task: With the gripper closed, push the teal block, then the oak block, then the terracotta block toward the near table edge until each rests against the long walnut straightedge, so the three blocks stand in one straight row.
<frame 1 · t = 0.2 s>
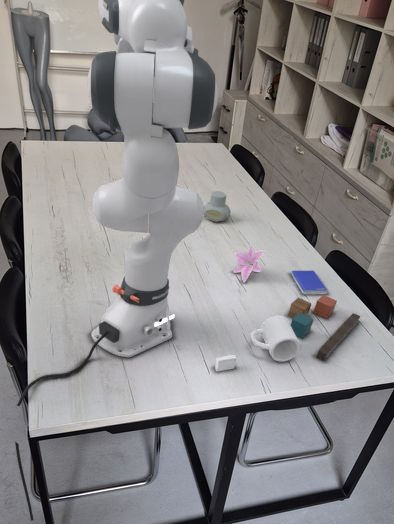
hand: (154, 86, 131), 52 cm above the table, tool tilted 20°, fingers open, 8 cm apart
mug: (269, 350, 132), on the table
lily: (246, 275, 162), on the table
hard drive: (308, 284, 161), on the table
air freshener: (215, 218, 193), on the table
straightedge: (338, 338, 139), on the table
teal block: (299, 331, 140), on the table
terracotta block: (323, 312, 148), on the table
oak block: (297, 315, 146), on the table
eraser: (224, 369, 124), on the table
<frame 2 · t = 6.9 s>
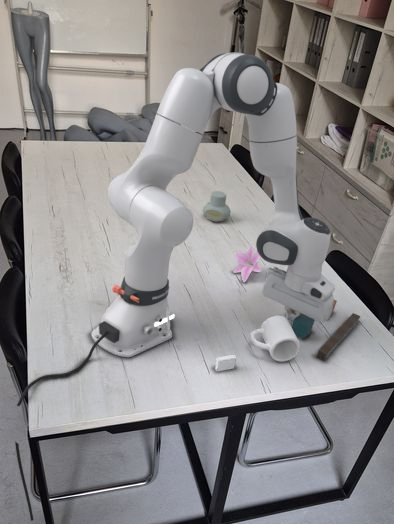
hand: (290, 320, 140), 2 cm above the table, tool pointing down, fingers closed
teal block: (300, 332, 139), on the table, touching gripper
everything else where it was.
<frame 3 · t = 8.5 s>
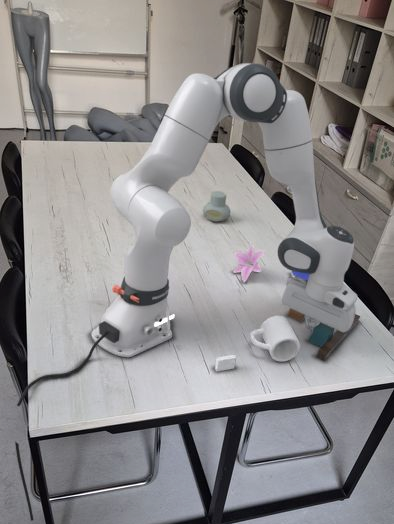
hand: (310, 329, 137), 2 cm above the table, tool pointing down, fingers closed
teal block: (319, 341, 137), on the table, touching gripper, straightedge
everything else where it was.
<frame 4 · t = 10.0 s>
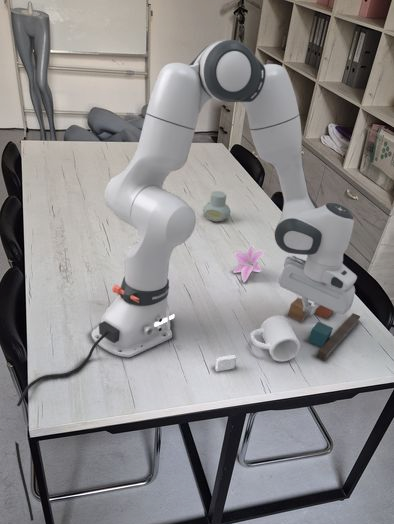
hand: (308, 312, 134), 8 cm above the table, tool pointing down, fingers closed
teal block: (318, 341, 137), on the table
everything else where it was.
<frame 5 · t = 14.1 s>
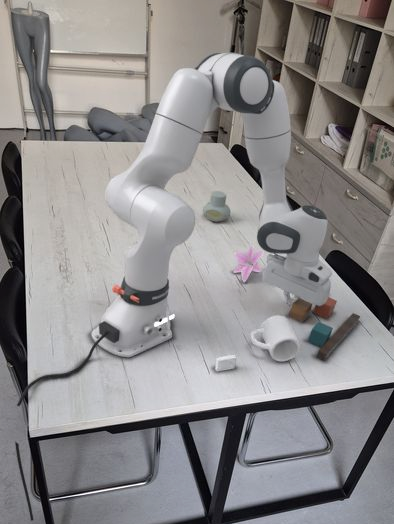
hand: (289, 304, 146), 2 cm above the table, tool pointing down, fingers closed
oak block: (299, 316, 146), on the table, touching gripper
everything else where it was.
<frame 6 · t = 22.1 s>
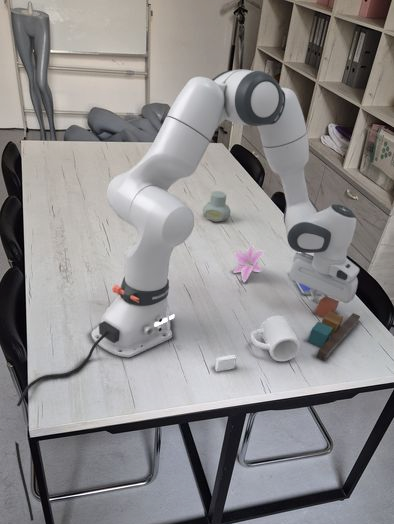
hand: (315, 302, 148), 2 cm above the table, tool pointing down, fingers closed
terracotta block: (325, 313, 148), on the table, touching gripper
oak block: (329, 330, 142), on the table
everything else where it was.
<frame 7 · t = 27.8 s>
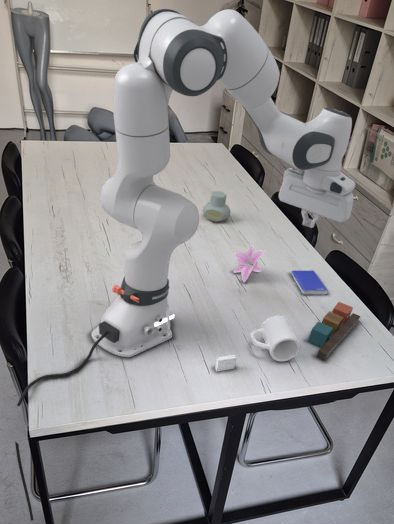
hand: (308, 225, 136), 25 cm above the table, tool pointing down, fingers closed
terracotta block: (339, 320, 146), on the table
everything else where it was.
at the end: teal block 0.4 cm from the target spot, on the table; oak block 0.2 cm from the target spot, on the table; terracotta block 0.2 cm from the target spot, on the table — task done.
